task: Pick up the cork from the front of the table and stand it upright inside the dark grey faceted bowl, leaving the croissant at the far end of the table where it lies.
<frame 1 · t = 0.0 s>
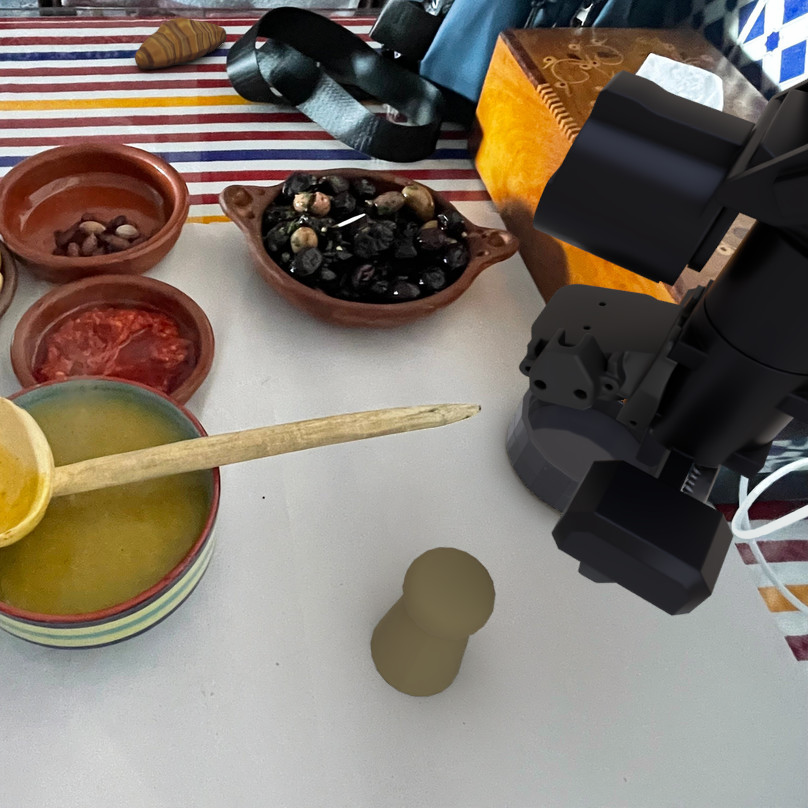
hand: (617, 515, 43), 13 cm above the table, tool pointing down, fingers open, 9 cm apart
dark grey faceted bowl: (579, 458, 61), on the table
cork: (414, 651, 51), on the table
croissant: (182, 58, 98), on the table
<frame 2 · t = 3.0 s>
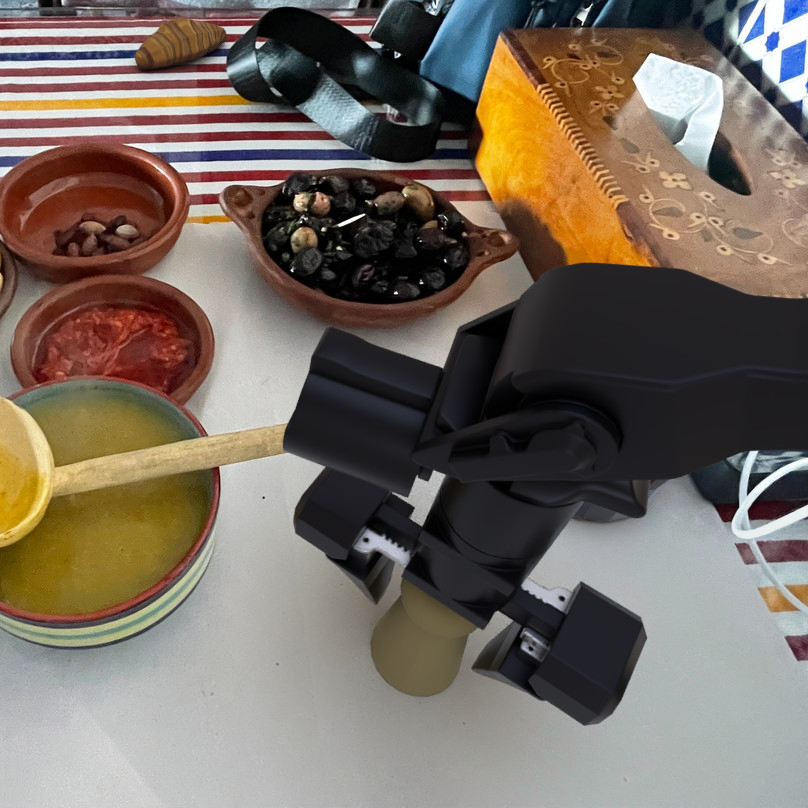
hand: (426, 630, 48), 4 cm above the table, tool pointing down, fingers closed on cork, 7 cm apart
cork: (414, 651, 51), on the table, touching gripper
everything else where it was.
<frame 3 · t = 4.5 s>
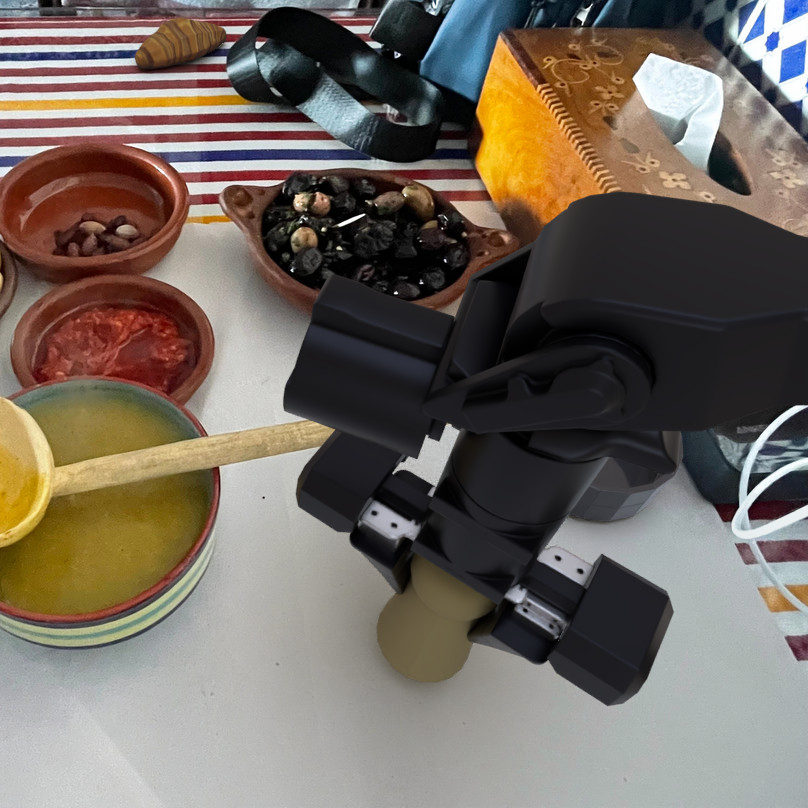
hand: (436, 611, 46), 7 cm above the table, tool pointing down, fingers closed on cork, 4 cm apart
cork: (422, 636, 49), point 2 cm above the table, touching gripper
everything else where it was.
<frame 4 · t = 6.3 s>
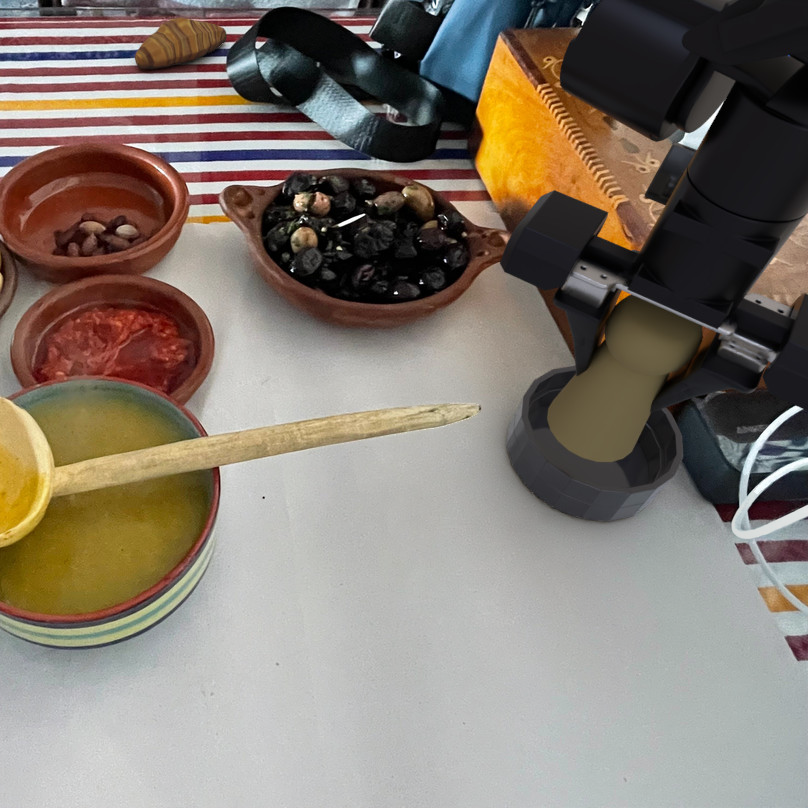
hand: (615, 390, 49), 13 cm above the table, tool pointing down, fingers closed on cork, 4 cm apart
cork: (590, 427, 52), point 9 cm above the table, touching gripper
everything else where it was.
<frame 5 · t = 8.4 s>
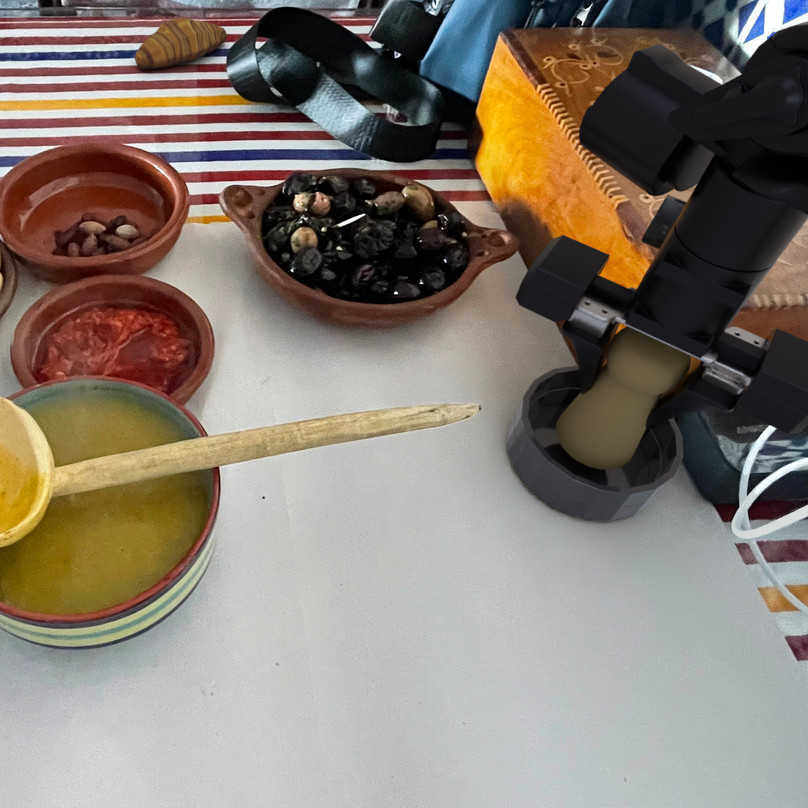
hand: (615, 407, 56), 7 cm above the table, tool pointing down, fingers closed on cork, 4 cm apart
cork: (593, 438, 59), point 3 cm above the table, touching gripper
everything else where it was.
when the fingers open (4 cm above the table, at t = 9.6 s): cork stays where it is, resting on dark grey faceted bowl.
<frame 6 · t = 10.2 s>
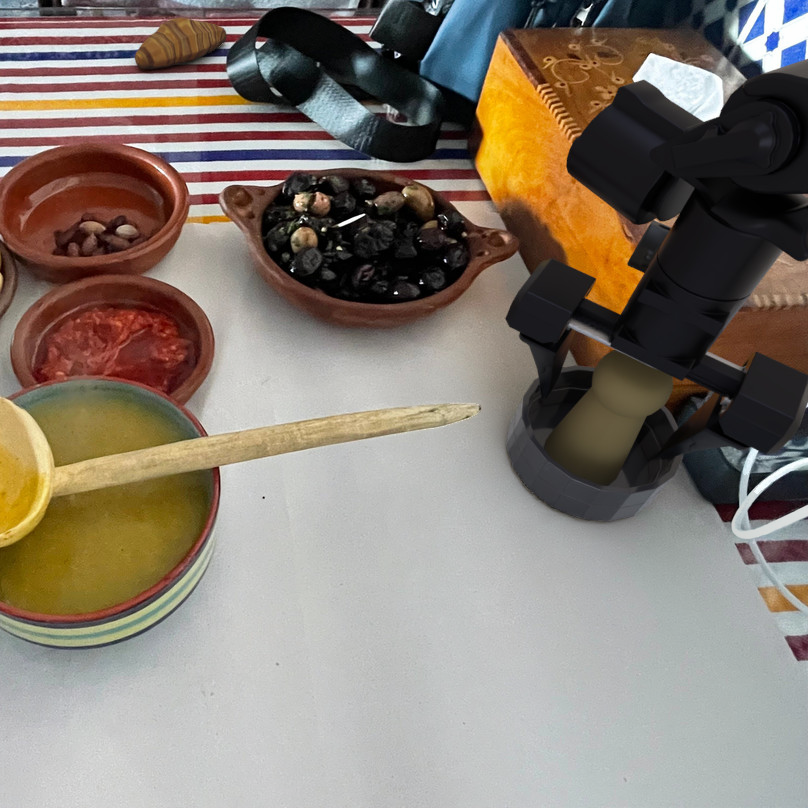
hand: (602, 423, 58), 5 cm above the table, tool pointing down, fingers open, 9 cm apart
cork: (581, 456, 61), resting on dark grey faceted bowl
everything else where it was.
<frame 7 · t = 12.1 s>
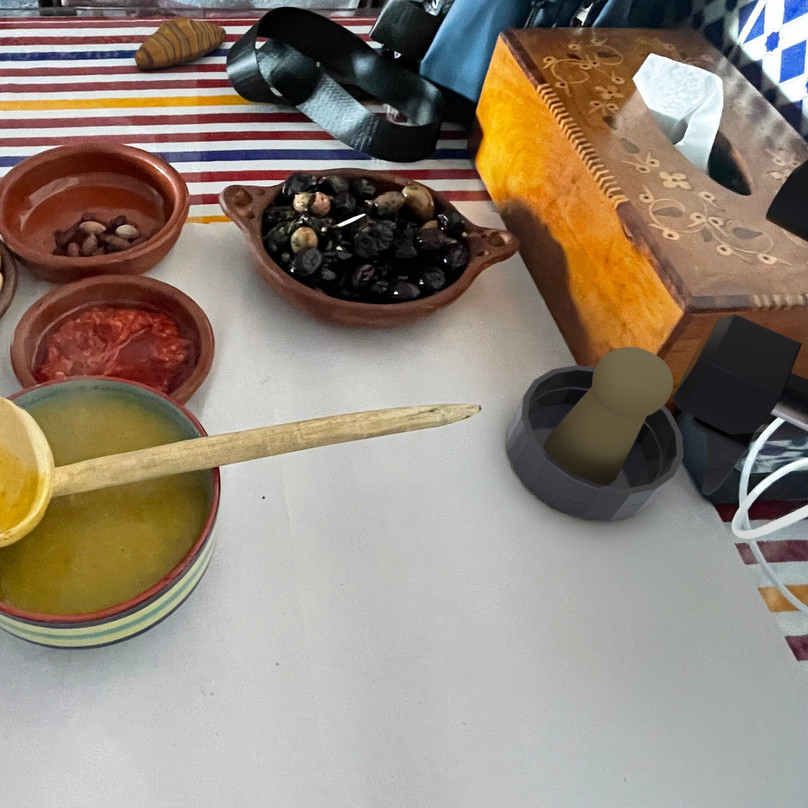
hand: (787, 531, 43), 13 cm above the table, tool pointing down, fingers open, 9 cm apart
nothing on the table moved.
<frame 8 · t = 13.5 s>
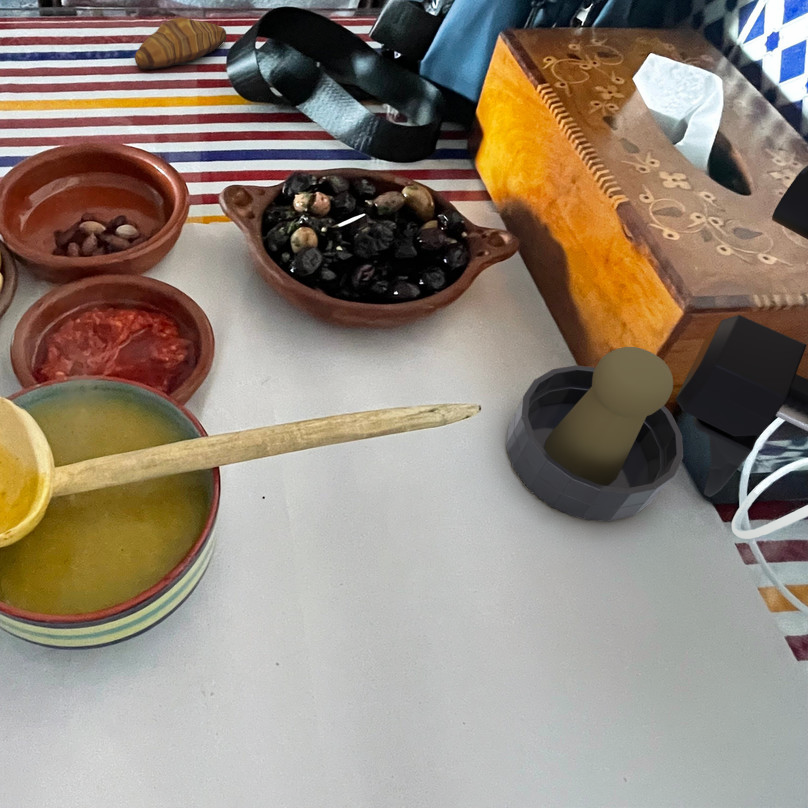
hand: (790, 532, 43), 13 cm above the table, tool pointing down, fingers open, 9 cm apart
nothing on the table moved.
at the end: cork inside the target area in the dark grey faceted bowl (0.1 cm from its centre), point 0.3 cm above the dark grey faceted bowl's base; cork tilted 0°; croissant moved 0.2 cm from its start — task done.
